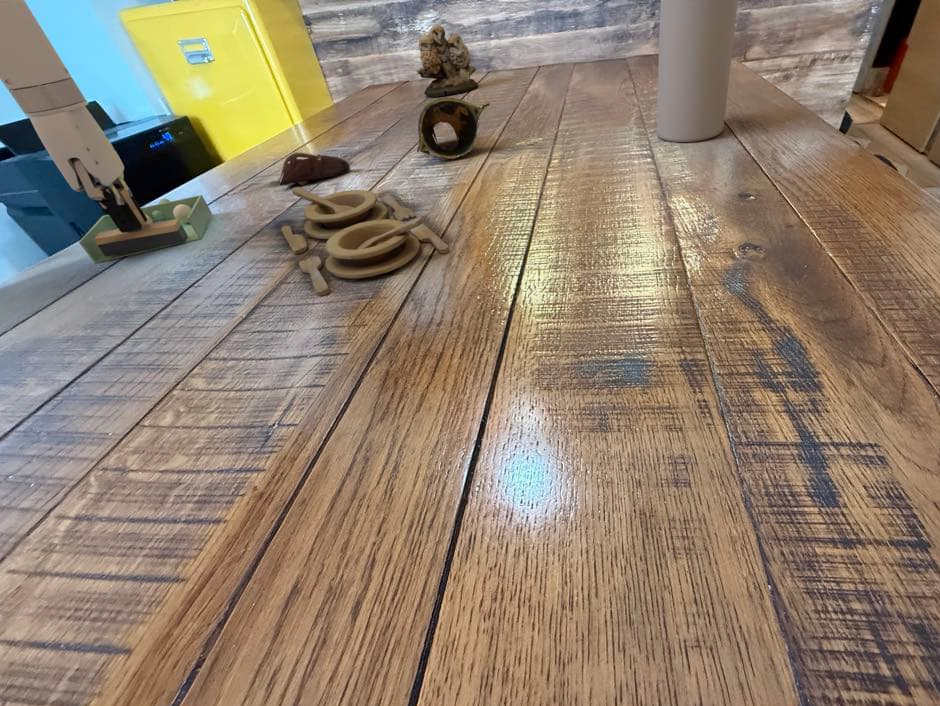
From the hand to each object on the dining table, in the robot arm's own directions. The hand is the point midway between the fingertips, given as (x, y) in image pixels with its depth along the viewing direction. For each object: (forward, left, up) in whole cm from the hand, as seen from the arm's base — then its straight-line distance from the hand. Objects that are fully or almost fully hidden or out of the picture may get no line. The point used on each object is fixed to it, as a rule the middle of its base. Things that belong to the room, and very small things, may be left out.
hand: (134, 225), depth 83 cm
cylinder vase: (+84, -54, -4) cm, 99 cm away
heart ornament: (+35, +3, -4) cm, 35 cm away
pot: (+58, -14, -4) cm, 59 cm away
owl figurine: (+102, +38, -4) cm, 109 cm away
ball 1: (+3, +9, -2) cm, 10 cm away
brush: (0, 0, -3) cm, 3 cm away
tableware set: (+21, -34, -4) cm, 40 cm away
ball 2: (+9, +5, -2) cm, 11 cm away
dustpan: (+4, +8, -4) cm, 10 cm away
